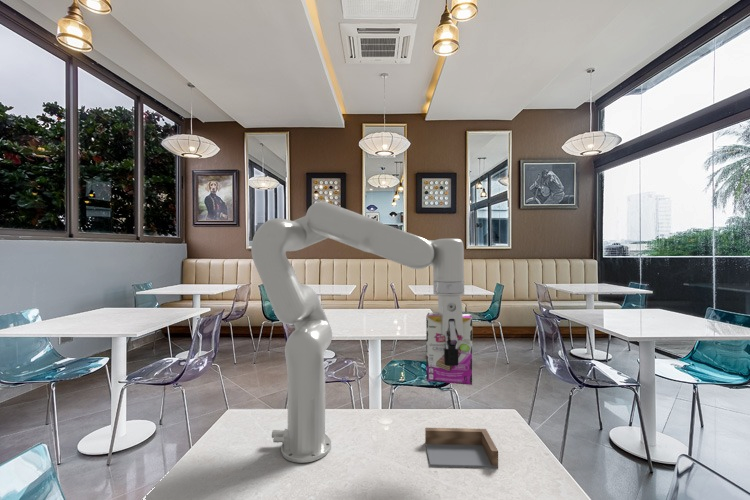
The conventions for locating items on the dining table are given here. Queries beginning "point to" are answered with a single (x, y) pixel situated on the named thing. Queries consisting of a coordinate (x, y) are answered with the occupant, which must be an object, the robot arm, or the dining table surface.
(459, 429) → the walnut corner walls
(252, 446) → the dining table surface
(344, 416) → the dining table surface
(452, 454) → the slate mat
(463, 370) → the candy bar box
